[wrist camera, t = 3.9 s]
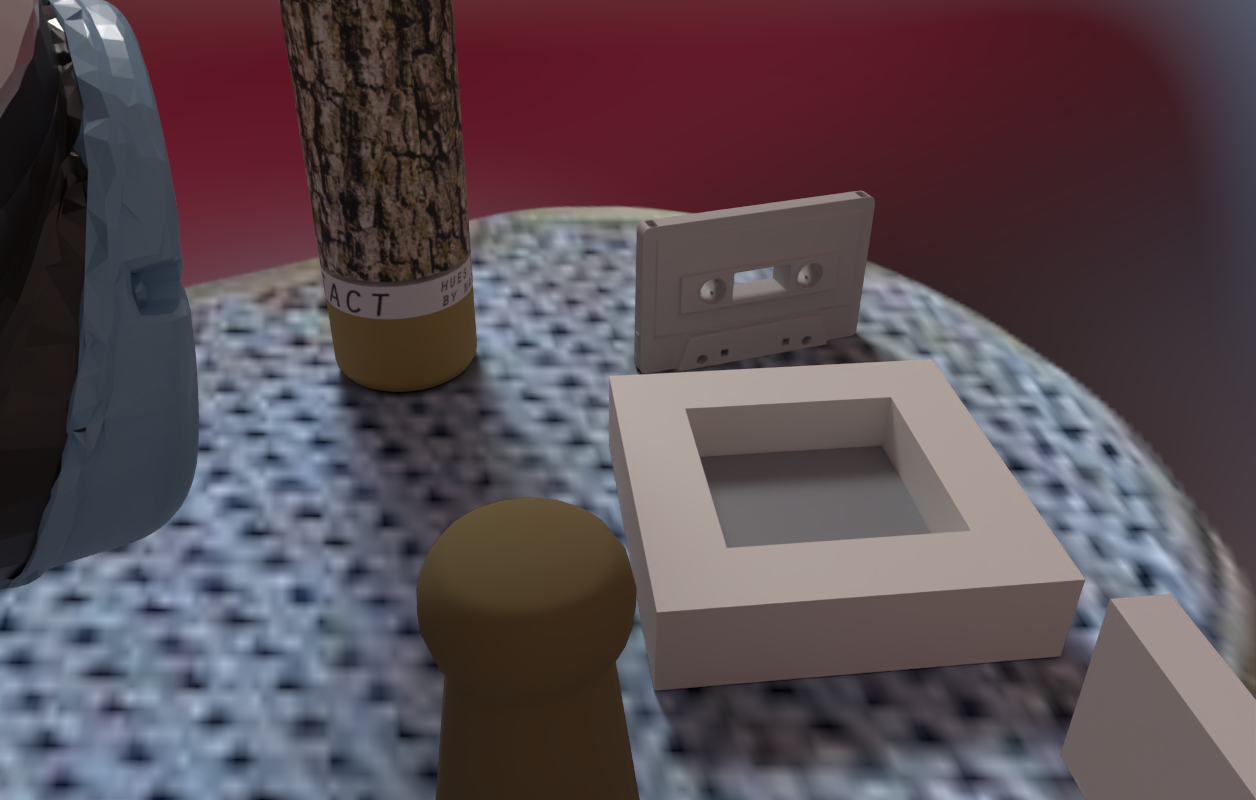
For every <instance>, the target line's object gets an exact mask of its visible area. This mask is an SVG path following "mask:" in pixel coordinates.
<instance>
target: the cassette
mask: <svg viewBox="0 0 1256 800" xmlns="http://www.w3.org/2000/svg"><path fill="white" fill-rule="evenodd" d="M874 205H875V201H874V199H873V198H872V197H871V196H869V195H868V194H866V193H865V192H864V191H855V192H848V193H840V194H834V195H826V196H819V197H811V198H804V199H797V200H790V201H782V202H775V203H768V204H761V205H753V206H746V207H739V208H732V209H725V210H717V211H710V212H703V213H696V214H688V215H681V216H674V217H666V218H659V219H652V220H644V221H642V222H640V223H639V225H638V227H637V246H636V298H635V351H634V362H635V365H636V367H637V368H639V370H640V371H641V372H642V373H643V374H647V373H652V372H657V371H663V370H669V369H676V370H678V371H679V372H680V371H685V370H691V369H696V368H702V367H707V366H712V365H718V364H723V363H729V362H734V361H739V360H745V359H750V358H756V357H761V356H766V355H772V354H777V353H783V352H788V351H793V350H799V349H804V348H810V347H815V346H820V345H826V344H827V342H826V341H827V340H832V339H837V338H842V337H848V336H853V335H854V334H855V332H856V328H857V322H858V315H859V308H860V301H861V294H862V287H863V281H864V274H865V267H866V260H867V253H868V246H869V240H870V232H871V225H872V219H873V212H874ZM769 267H774V271H773V278H772V279H765V280H759V281H753V282H747V283H741V284H734V274H735V273H738V272H743V271H750V270H756V269H763V268H769ZM706 282H707V283H706ZM705 283H706V284H705ZM704 284H705V285H704Z"/></svg>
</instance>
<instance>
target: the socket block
mask: <svg viewBox="0 0 1256 800" xmlns="http://www.w3.org/2000/svg"><path fill="white" fill-rule="evenodd" d="M609 447H610V453H611V458H612V464H613V469H614V475H615V480H616V486H617V491H618V497H619V502H620V507H621V513H622V518H623V524H624V529H625V535H626V540H627V546H628V551H629V557H630V562H631V567H632V573H633V576H634V580H635V583H636V587H637V591H636V595H637V600H638V606H639V611H640V617H641V622H642V628H643V633H644V638H645V644H646V649H647V655H648V660H649V666H650V671H651V677H652V682H653V688H654V691H656V690H668V689H680V688H692V687H704V686H716V685H727V684H739V683H751V682H763V681H775V680H787V679H799V678H810V677H822V676H834V675H846V674H858V673H870V672H881V671H893V670H905V669H917V668H929V667H941V666H952V665H964V664H976V663H988V662H1000V661H1012V660H1024V659H1035V658H1047V657H1059V656H1061V653H1062V650H1063V647H1064V643H1065V640H1066V637H1067V634H1068V631H1069V628H1070V625H1071V622H1072V619H1073V616H1074V613H1075V609H1076V606H1077V603H1078V600H1079V597H1080V594H1081V591H1082V588H1083V585H1084V582H1085V579H1084V577H1083V576H1082V574H1081V573H1080V571H1079V570H1078V568H1077V567H1076V566H1075V564H1074V563H1073V561H1072V560H1071V558H1070V557H1069V556H1068V554H1067V553H1066V551H1065V550H1064V548H1063V547H1062V546H1061V544H1060V543H1059V541H1058V540H1057V538H1056V537H1055V535H1054V534H1053V533H1052V531H1051V530H1050V528H1049V527H1048V525H1047V524H1046V523H1045V521H1044V520H1043V518H1042V517H1041V515H1040V514H1039V512H1038V511H1037V510H1036V508H1035V507H1034V505H1033V504H1032V502H1031V501H1030V500H1029V498H1028V497H1027V495H1026V494H1025V492H1024V491H1023V489H1022V488H1021V487H1020V485H1019V484H1018V482H1017V481H1016V479H1015V478H1014V477H1013V475H1012V474H1011V472H1010V471H1009V469H1008V468H1007V466H1006V465H1005V464H1004V462H1003V461H1002V459H1001V458H1000V456H999V455H998V454H997V452H996V451H995V449H994V448H993V446H992V445H991V443H990V442H989V441H988V439H987V438H986V436H985V435H984V433H983V432H982V431H981V429H980V428H979V426H978V425H977V423H976V422H975V421H974V419H973V418H972V416H971V415H970V413H969V412H968V410H967V409H966V408H965V406H964V405H963V403H962V402H961V400H960V399H959V398H958V396H957V395H956V393H955V392H954V390H953V389H952V387H951V386H950V385H949V383H948V382H947V380H946V379H945V377H944V376H943V375H942V373H941V372H940V370H939V369H938V367H937V366H936V364H935V363H934V362H933V360H932V359H928V360H909V361H890V362H871V363H851V364H832V365H813V366H794V367H775V368H756V369H737V370H718V371H699V372H680V373H661V374H642V375H623V376H609Z"/></svg>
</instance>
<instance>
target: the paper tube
mask: <svg viewBox="0 0 1256 800" xmlns="http://www.w3.org/2000/svg"><path fill="white" fill-rule="evenodd" d="M279 4H280V10H281V16H282V23H283V29H284V35H285V42H286V48H287V55H288V61H289V67H290V74H291V80H292V86H293V93H294V99H295V105H296V111H297V118H298V124H299V131H300V138H301V144H302V150H303V157H304V163H305V169H306V176H307V182H308V189H309V195H310V202H311V208H312V214H313V221H314V226H315V233H316V240H317V246H318V253H319V259H320V265H321V272H322V278H323V285H324V291H325V296H326V300H327V307H328V313H329V319H330V326H331V332H332V339H333V345H334V351H335V358H336V361H337V364H338V366H339V368H340V369H341V370H342V372H343V373H344V374H345V375H346V376H347V377H349V378H350V379H351V380H352V381H354V382H356V383H358V384H360V385H362V386H365V387H368V388H371V389H376V390H381V391H389V392H408V391H417V390H423V389H427V388H431V387H434V386H437V385H440V384H443V383H445V382H447V381H449V380H451V379H453V378H455V377H456V376H458V375H459V374H461V373H462V372H463V371H464V370H465V369H466V368H467V367H468V366H469V364H470V363H471V361H472V359H473V358H474V356H475V353H476V348H477V337H476V324H475V310H474V296H473V275H472V261H471V249H470V234H469V220H468V207H467V192H466V179H465V166H464V151H463V138H462V125H461V110H460V96H459V83H458V69H457V55H456V41H455V27H454V14H453V1H452V0H279Z"/></svg>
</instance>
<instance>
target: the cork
mask: <svg viewBox="0 0 1256 800" xmlns="http://www.w3.org/2000/svg"><path fill="white" fill-rule="evenodd" d="M636 591H637V587H636V583H635V580H634V576H633V573H632V569H631V566H630V562H629V559H628V556H627V552H626V549H625V548H624V546H623V545H622V544H621V543H620V542H619V540H618V539H617V538H616V537H615V536H614V534H613V533H612V532H611V531H610V530H609V528H608V527H607V526H606V525H605V524H604V523H603V521H602V520H601V519H599V518H597V517H596V516H594V515H593V514H591V513H589V512H588V511H586V510H584V509H583V508H581V507H578V506H575V505H572V504H568V503H565V502H562V501H559V500H552V499H541V498H530V497H529V498H520V499H511V500H502V501H498V502H495V503H492V504H489V505H486V506H483V507H479V508H476V509H474V510H473V511H471V512H469V513H468V514H466V515H464V516H462V517H461V518H459V519H457V520H456V521H454V522H453V523H452V524H451V525H450V526H449V527H448V528H447V529H446V530H445V531H444V533H443V534H442V535H441V536H440V537H439V538H438V539H437V541H436V542H435V543H434V545H433V546H432V548H431V549H430V550H429V553H428V555H427V557H426V560H425V562H424V564H423V567H422V569H421V571H420V575H419V580H418V585H417V615H418V621H419V628H420V633H421V635H422V637H423V639H424V641H425V643H426V645H427V647H428V649H429V651H430V652H431V654H432V656H433V658H434V660H435V662H436V664H437V666H438V667H439V669H440V671H441V672H442V673H444V674H445V678H444V692H443V706H442V720H441V734H440V748H439V762H438V776H437V790H436V800H639V794H638V788H637V783H636V777H635V771H634V765H633V760H632V754H631V748H630V742H629V736H628V731H627V725H626V719H625V713H624V708H623V702H622V696H621V690H620V684H619V679H618V673H617V667H616V660H617V659H618V657H619V656H620V654H621V652H622V651H623V649H624V648H625V646H626V643H627V641H628V638H629V636H630V633H631V630H632V625H633V619H634V614H635V608H636Z"/></svg>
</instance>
